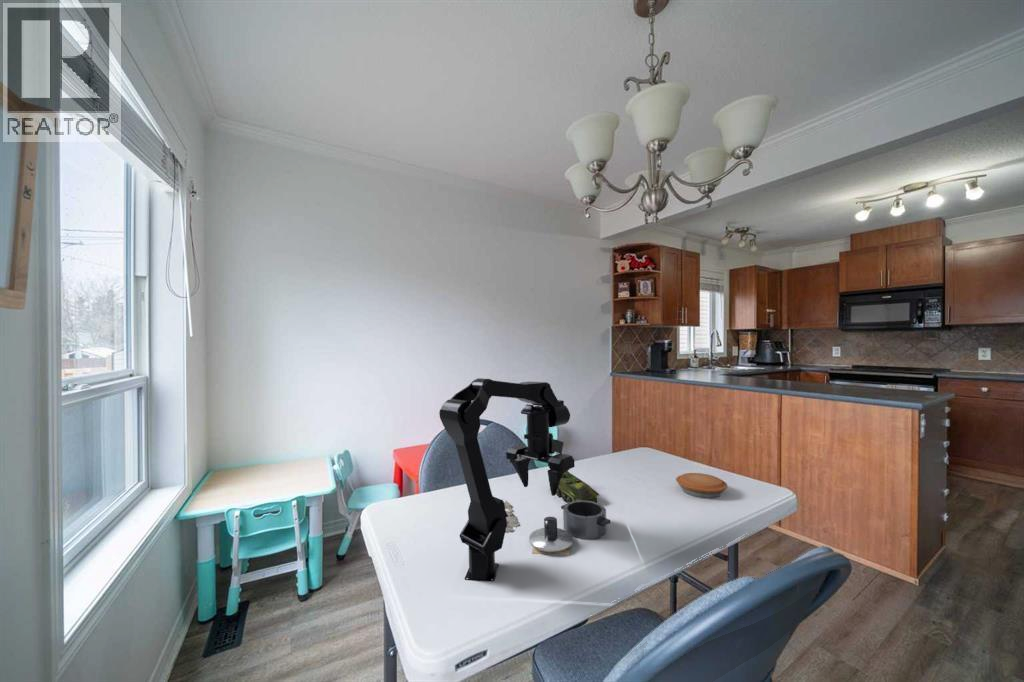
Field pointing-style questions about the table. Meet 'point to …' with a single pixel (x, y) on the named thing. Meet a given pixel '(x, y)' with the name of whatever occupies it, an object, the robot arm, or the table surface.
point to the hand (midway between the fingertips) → (539, 490)
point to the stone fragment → (510, 519)
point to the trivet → (564, 552)
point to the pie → (701, 485)
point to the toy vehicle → (575, 489)
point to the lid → (551, 537)
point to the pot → (585, 519)
